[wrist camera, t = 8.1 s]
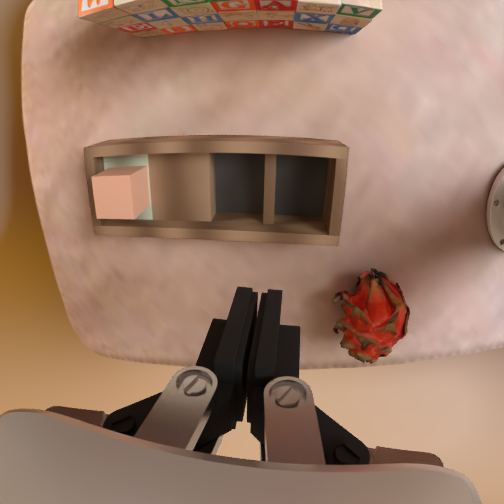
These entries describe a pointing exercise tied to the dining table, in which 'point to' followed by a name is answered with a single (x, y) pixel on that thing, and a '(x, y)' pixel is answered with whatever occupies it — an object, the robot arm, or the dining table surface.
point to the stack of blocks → (228, 15)
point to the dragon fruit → (372, 317)
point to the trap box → (230, 187)
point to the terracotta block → (121, 192)
